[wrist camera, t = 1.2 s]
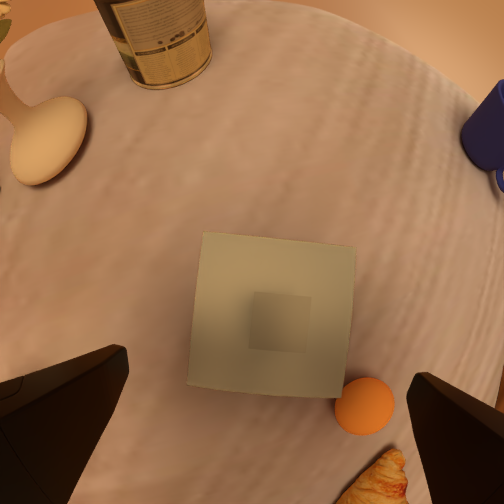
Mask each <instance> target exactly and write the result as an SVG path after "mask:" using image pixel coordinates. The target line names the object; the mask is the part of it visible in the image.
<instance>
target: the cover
mask: <svg viewBox="0 0 504 504" xmlns="http://www.w3.org/2000/svg"><path fill="white" fill-rule="evenodd" d="M355 267H356V247H349V246H341V245H332V244H323V243H314V242H305V241H296V240H286V239H277V238H267V237H258V236H248V235H238V234H228V233H218V232H208V231H203V238H202V245H201V253H200V260H199V268H198V276H197V284H196V293H195V302H194V311H193V320H192V330H191V340H190V351H189V362H188V374H187V385H188V386H195V387H201V388H208V389H215V390H222V391H230V392H239V393H248V394H259V395H271V396H286V397H308V398H341V395H342V389H343V383H344V376H345V369H346V362H347V355H348V347H349V338H350V329H351V319H352V309H353V297H354V283H355Z"/></svg>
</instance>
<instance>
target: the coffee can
mask: <svg viewBox="0 0 504 504" xmlns="http://www.w3.org/2000/svg"><path fill="white" fill-rule="evenodd" d="M94 2H95V4H96V6H97V8H98V10H99V12H100V14H101V16H102V18H103V20H104V22H105V25H106V27H107V29H108V31H109V33H110V35H111V37H112V39H113V41H114V43H115V45H116V47H117V49H118V51H119V53H120V55H121V57H122V59H123V61H124V63H125V65H126V67H127V69H128V71H129V73H130V77H131V79H132V80H133V82H134V83H136V84H137V85H139V86H141V87H143V88H147V89H167V88H171V87H175V86H178V85H181V84H184V83H186V82H188V81H190V80H192V79H193V78H195V77H196V76H198V75H199V74H200V73H201V72H202V71H203V70H204V69H205V68H206V67H207V65H208V64H209V62H210V60H211V57H212V49H211V45H210V39H209V32H208V26H207V19H206V13H205V7H204V0H94Z"/></svg>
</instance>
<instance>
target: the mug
mask: <svg viewBox="0 0 504 504" xmlns="http://www.w3.org/2000/svg"><path fill="white" fill-rule="evenodd" d="M462 142H463V145H464V148H465V150H466V152H467V154H468V155H469V157H470V158H471V159H472V161H473V162H474V163H475V164H476V165H477V166H479V167H480V168H482V169H484V170H488V171H494V170H497V171H496V180H497V184H498V186H499V188H500V190H501V191H502V192H503V193H504V180H503V171H504V79H503V80H500V81H499V82H498V83H497V84H496V86H495V87H494V88H493V89H492V91H491V92H490V93H489V94H488V96H487V97H486V98H485V100H484V101H483V102H482V103H481V104H480V106H479V107H478V108H477V109H476V111H475V112H474V113H473V114H472V115H471V117H470V118H469V119H468V120H467V121H466V123H465V124H464V126H463V129H462Z"/></svg>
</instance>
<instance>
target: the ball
mask: <svg viewBox="0 0 504 504" xmlns="http://www.w3.org/2000/svg"><path fill="white" fill-rule="evenodd" d="M393 411H394V397H393V394H392V391H391V390H390V388H389V387H388V386H387V385H386V384H385V383H384V382H382V381H380V380H378V379H375V378H368V377H366V378H360V379H356V380H354V381H352V382H350V383H349V384H347V385H346V386H345V387H344V388H343V389H342V395H341V398H337V399H336V403H335V416H336V419H337V421H338V423H339V425H340V426H341V427H342V428H343V429H344V430H345V431H347V432H349V433H351V434H354V435H369V434H373V433H375V432H377V431H379V430H380V429H382V428H383V427H384V426H385V425H386V424H387V423H388V421H389V420H390V418H391V416H392V414H393Z"/></svg>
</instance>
